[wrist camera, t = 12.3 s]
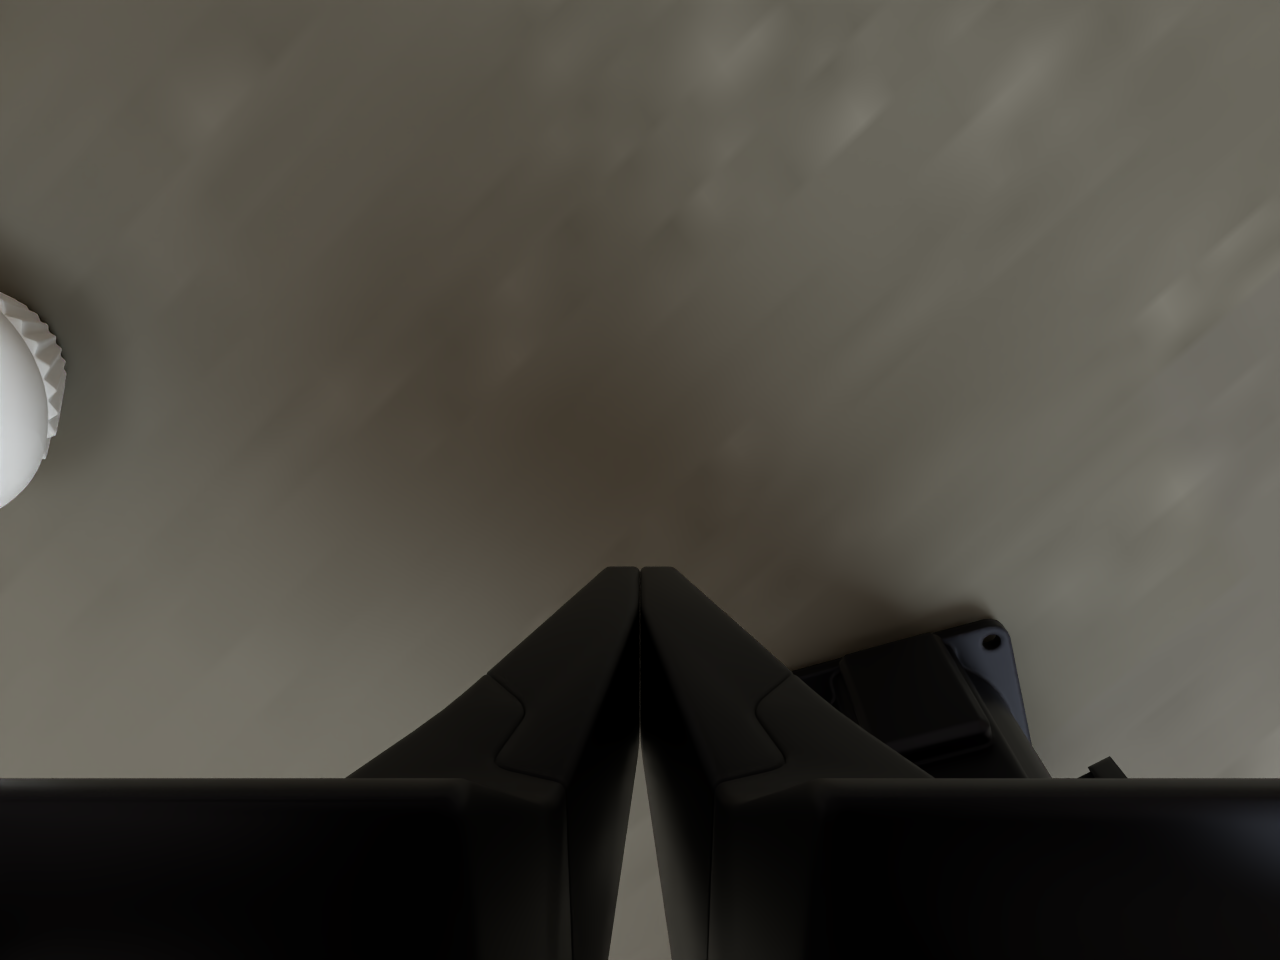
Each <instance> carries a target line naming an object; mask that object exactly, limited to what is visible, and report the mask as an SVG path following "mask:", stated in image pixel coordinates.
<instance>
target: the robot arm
mask: <svg viewBox="0 0 1280 960" xmlns="http://www.w3.org/2000/svg"><path fill="white" fill-rule="evenodd" d="M990 634H996V636H995V638H994V639H993V640H992V641H990V642H983V640H984V638H985V637H986V636H988V635H990ZM639 733H641V748H642V757H643V765H644V772H645V778H646V785H647V792H648V799H649V806H650V813H651V820H652V826H653V833H654V840H655V847H656V854H657V861H658V867H659V874H660V881H661V888H662V895H663V902H664V908H665V915H666V922H667V929H668V936H669V943H670V950H671V956H672V960H1280V778H1127V777H1126V776H1125V774H1124V773H1123V772H1122V771H1121V769H1120V768H1119V767H1118V766H1117V764H1116V763H1115V762H1114V761H1113V760H1112V758H1111V757H1110V756H1109V757H1107V758H1105V759H1103V760H1101V761H1099V762H1097V763H1095V764H1093V765H1091V766H1089V767H1088V769H1089V770H1090V772H1089V773H1087V774H1085V775H1083V776H1081V777H1079V778H1052V777H1051V776H1050V774H1049V772H1048V771H1047V769H1046V768H1045V766H1044V764H1043V763H1042V761H1041V760H1040V758H1039V756H1038V755H1037V753H1036V752H1035V750H1034V748H1033V747H1032V744H1031V739H1030V734H1029V729H1028V724H1027V719H1026V714H1025V709H1024V704H1023V699H1022V694H1021V689H1020V684H1019V679H1018V674H1017V669H1016V664H1015V659H1014V654H1013V649H1012V644H1011V639H1010V636H1009V634H1008V632H1007V630H1006V629H1005V628H1004V626H1003V625H1002V624H1001V623H1000V622H999V621H997V620H993V619H984V620H980V621H976V622H972V623H969V624H965V625H961V626H958V627H954V628H950V629H947V630H943V631H939V632H935V633H925V634H921V635H918V636H914V637H910V638H907V639H903V640H899V641H895V642H892V643H888V644H884V645H881V646H877V647H873V648H870V649H866V650H862V651H858V652H855V653H851V654H847V655H845V656H844V657H843V658H839V659H835V660H832V661H828V662H824V663H821V664H817V665H813V666H810V667H806V668H802V669H798V670H795V671H790V670H789V669H788V668H787V667H786V666H785V665H784V664H782V663H781V662H780V661H779V660H778V659H777V658H776V657H774V656H773V655H772V654H771V653H770V652H769V651H768V650H767V649H765V648H764V647H763V646H762V645H761V644H760V643H759V642H758V641H756V640H755V639H754V638H753V637H752V636H751V635H750V634H749V633H747V632H746V631H745V630H744V629H743V628H742V627H741V626H739V625H738V624H737V623H736V622H735V621H734V620H733V619H732V618H730V617H729V616H728V615H727V614H726V613H725V612H724V611H723V610H721V609H720V608H719V607H718V606H717V605H716V604H715V603H714V602H712V601H711V600H710V599H709V598H708V597H707V596H706V595H704V594H703V593H702V592H701V591H700V590H699V589H698V588H697V587H695V586H694V585H693V584H692V583H691V582H690V581H689V580H688V579H686V578H685V577H684V576H683V575H682V574H681V573H680V572H679V571H677V570H676V569H675V568H673V567H644V568H642V569H641V571H639V569H638V568H636V567H607V568H605V569H604V570H603V571H601V572H600V573H599V574H598V575H597V576H596V577H595V578H594V579H592V580H591V581H590V582H589V583H588V584H587V585H586V586H585V587H583V588H582V589H581V590H580V591H579V592H578V593H577V594H576V595H574V596H573V597H572V598H571V599H570V600H569V601H568V602H566V603H565V604H564V605H563V606H562V607H561V608H560V609H559V610H557V611H556V612H555V613H554V614H553V615H552V616H551V617H550V618H548V619H547V620H546V621H545V622H544V623H543V624H542V625H541V626H539V627H538V628H537V629H536V630H535V631H534V632H533V633H531V634H530V635H529V636H528V637H527V638H526V639H525V640H524V641H522V642H521V643H520V644H519V645H518V646H517V647H516V648H515V649H513V650H512V651H511V652H510V653H509V654H508V655H507V656H506V657H504V658H503V659H502V660H501V661H500V662H499V663H498V664H496V665H495V666H494V667H493V668H492V669H491V670H490V671H489V672H488V673H487V675H484V676H483V677H481V678H480V679H479V680H478V681H477V682H476V683H475V684H474V685H472V686H471V687H470V688H469V689H468V690H467V691H465V692H464V693H463V694H462V695H461V696H459V697H458V698H457V699H456V700H454V701H453V702H452V703H451V704H450V705H448V706H447V707H446V708H445V709H444V710H442V711H441V712H439V713H438V714H437V715H435V716H434V717H432V718H431V719H430V720H428V721H427V722H426V723H424V724H423V725H421V726H420V727H419V728H417V729H416V730H415V731H413V732H412V733H410V734H409V735H407V736H406V737H404V738H403V739H401V740H400V741H399V742H397V743H396V744H394V745H393V746H391V747H390V748H388V749H387V750H385V751H384V752H383V753H381V754H380V755H378V756H377V757H375V758H374V759H372V760H371V761H369V762H368V763H366V764H365V765H364V766H362V767H361V768H359V769H358V770H356V771H355V772H353V773H352V774H350V775H349V776H348V777H346V778H0V960H608V956H609V950H610V943H611V936H612V929H613V922H614V915H615V908H616V902H617V895H618V888H619V881H620V874H621V867H622V861H623V854H624V847H625V840H626V833H627V826H628V820H629V813H630V806H631V799H632V792H633V785H634V778H635V772H636V765H637V757H638V748H639Z"/></svg>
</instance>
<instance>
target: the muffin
mask: <svg viewBox="0 0 1280 960" xmlns="http://www.w3.org/2000/svg"><path fill="white" fill-rule="evenodd" d="M61 351H62V348H61V347H60V346H58V345H57V344H56V336H55V335H53V334H51V333H50V332H49V329H48V325H47V324H46V323H43V322H41V321H40V319H39V316H38V314H37V313H35V312H32V311H30V310H29V309H28V308H27V306H26V305H24V304H23V303H21V302H19V301H17V300H16V299H14V298H12V297H10V296H8V295H6V294H4V293H2V292H0V508H2V507H3V506H5V505H6V504H8V503H9V502H10V501H11V500H13V499H14V498H15V497H16V496H17V495H18V494H19V493H20V492H22V491H23V489H24V488H25V487H26V486H27V485H28V484H29V482H30V481H31V480H32V478H33V477H34V475H35V473H36V472H37V470H38V468H39V466H40V463H41V461H42V459H45V458H46V456H47V453H48V449H49V444H50V440H51V437H53V436H55V435H56V433H57V428H58V423H59V417H60V411H61V406H62V400H63V394H64V388H65V380H66V375H67V373H66V371H65V370H64V366H65V363H66V361H65V360H64V359H63V358H62V357H61Z"/></svg>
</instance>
